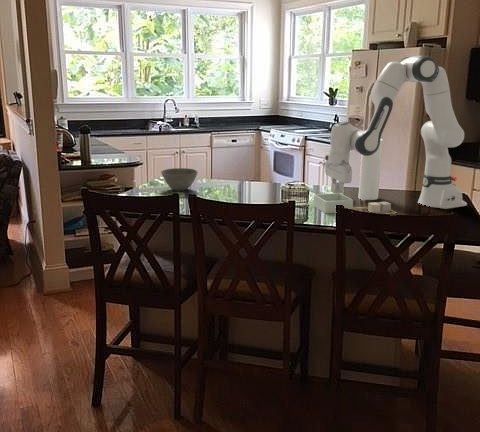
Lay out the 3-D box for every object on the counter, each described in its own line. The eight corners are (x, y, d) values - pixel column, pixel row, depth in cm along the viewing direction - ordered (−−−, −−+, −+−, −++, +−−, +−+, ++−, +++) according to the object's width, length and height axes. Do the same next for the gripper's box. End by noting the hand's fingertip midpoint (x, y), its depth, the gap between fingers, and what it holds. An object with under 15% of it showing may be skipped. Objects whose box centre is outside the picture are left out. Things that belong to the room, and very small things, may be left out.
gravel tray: (382, 209, 237) (382, 205, 237) (396, 216, 226) (397, 212, 226) (350, 211, 233) (351, 207, 233) (363, 219, 222) (364, 215, 222)
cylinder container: (363, 195, 262) (368, 136, 254) (381, 198, 256) (386, 138, 248) (354, 199, 255) (359, 138, 247) (372, 202, 249) (377, 140, 241)
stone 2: (375, 210, 232) (376, 202, 231) (379, 213, 228) (380, 204, 227) (367, 211, 231) (368, 202, 230) (371, 213, 227) (372, 205, 226)
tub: (339, 205, 243) (339, 193, 242) (352, 213, 231) (353, 199, 229) (313, 207, 240) (313, 194, 238) (325, 214, 228) (325, 201, 226)
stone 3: (384, 210, 233) (385, 201, 232) (390, 212, 230) (391, 203, 229) (377, 210, 232) (378, 202, 231) (382, 213, 228) (383, 204, 227)
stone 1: (338, 190, 239) (339, 182, 238) (342, 193, 235) (343, 184, 234) (330, 191, 238) (331, 182, 237) (334, 193, 234) (335, 184, 233)
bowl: (196, 194, 261) (196, 175, 258) (159, 194, 261) (158, 174, 259) (199, 186, 279) (199, 167, 276) (165, 185, 279) (164, 167, 277)
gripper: (356, 162, 223) (354, 193, 227) (335, 154, 242) (334, 183, 246) (343, 163, 222) (341, 194, 226) (323, 155, 241) (321, 184, 245)
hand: (337, 188), depth 236 cm, fingers closed on stone 1, 4 cm apart
